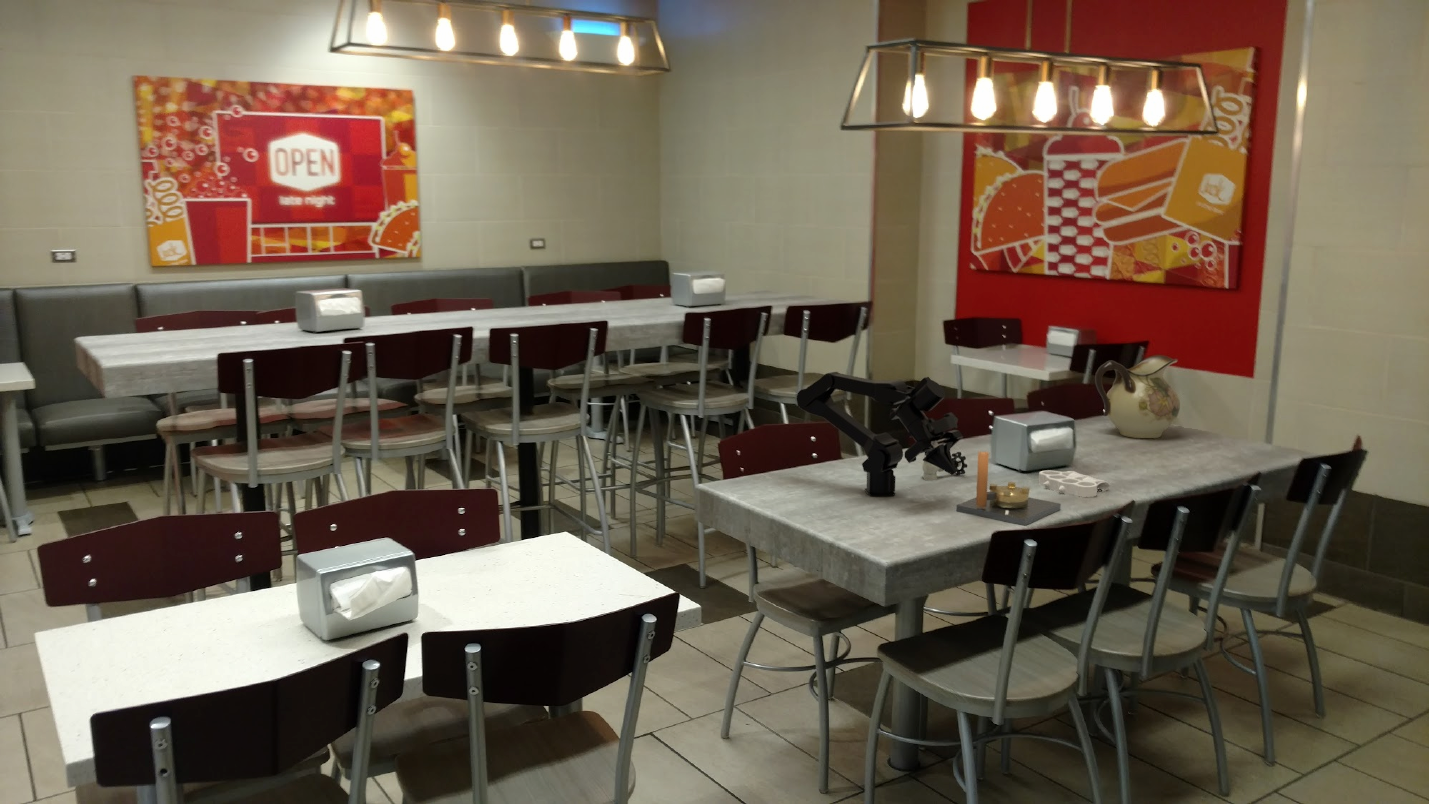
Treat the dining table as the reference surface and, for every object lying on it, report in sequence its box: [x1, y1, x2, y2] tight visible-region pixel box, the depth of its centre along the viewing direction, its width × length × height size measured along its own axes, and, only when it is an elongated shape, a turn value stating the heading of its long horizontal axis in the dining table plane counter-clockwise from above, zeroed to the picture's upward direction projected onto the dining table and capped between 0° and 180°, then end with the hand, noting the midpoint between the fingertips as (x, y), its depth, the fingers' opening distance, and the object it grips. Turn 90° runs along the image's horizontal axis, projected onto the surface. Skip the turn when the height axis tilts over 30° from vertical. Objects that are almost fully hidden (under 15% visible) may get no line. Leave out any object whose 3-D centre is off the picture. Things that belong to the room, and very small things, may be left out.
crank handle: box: [975, 451, 1030, 508], centre depth 261 cm, size 14×9×13 cm, turn 112°
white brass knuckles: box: [1038, 469, 1110, 498], centre depth 284 cm, size 3×18×15 cm
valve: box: [922, 451, 968, 482], centre depth 295 cm, size 7×7×12 cm
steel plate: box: [956, 496, 1061, 527], centre depth 264 cm, size 18×18×2 cm
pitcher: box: [1094, 354, 1181, 439], centre depth 345 cm, size 22×24×25 cm
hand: (954, 473), depth 264 cm, fingers closed
